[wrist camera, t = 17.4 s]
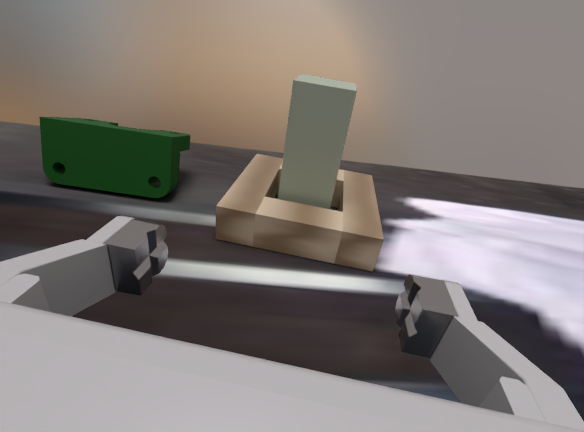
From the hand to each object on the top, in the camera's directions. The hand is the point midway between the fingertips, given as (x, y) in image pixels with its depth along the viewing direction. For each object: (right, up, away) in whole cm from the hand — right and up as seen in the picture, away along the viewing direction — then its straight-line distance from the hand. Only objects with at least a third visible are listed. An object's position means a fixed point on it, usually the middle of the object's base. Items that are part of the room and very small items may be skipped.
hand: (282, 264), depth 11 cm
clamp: (-16, +5, +21) cm, 27 cm away
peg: (+1, +2, +20) cm, 20 cm away
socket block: (+1, +2, +20) cm, 20 cm away
